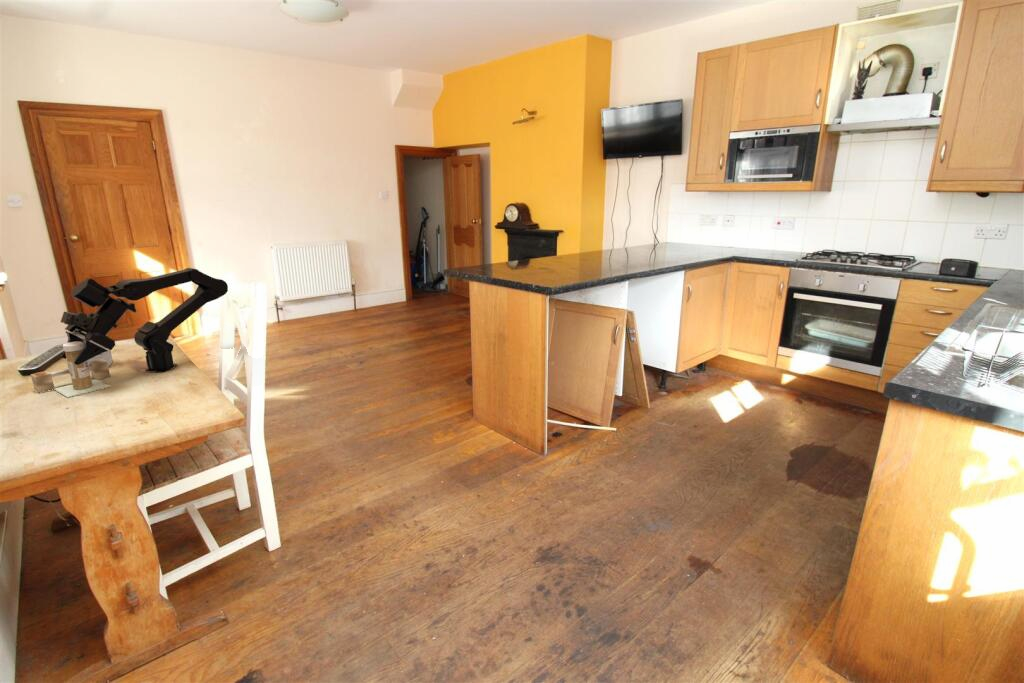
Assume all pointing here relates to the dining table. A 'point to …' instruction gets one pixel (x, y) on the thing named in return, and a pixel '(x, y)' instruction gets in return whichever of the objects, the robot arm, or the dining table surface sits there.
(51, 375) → the handrail
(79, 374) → the sprinkles bottle
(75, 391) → the pad
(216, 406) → the dining table surface
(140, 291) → the robot arm
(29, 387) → the dining table surface
